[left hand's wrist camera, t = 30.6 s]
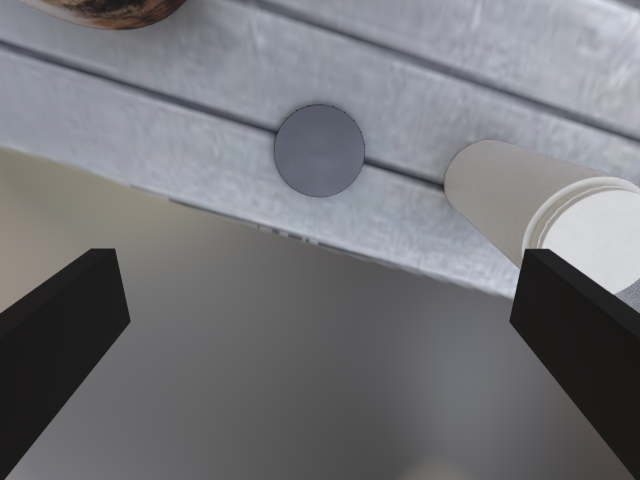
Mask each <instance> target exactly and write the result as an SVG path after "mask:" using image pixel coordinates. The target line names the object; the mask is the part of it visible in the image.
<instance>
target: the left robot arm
mask: <svg viewBox="0 0 640 480" xmlns="http://www.w3.org/2000/svg"><path fill="white" fill-rule="evenodd" d="M130 322H131V321H130V316H129V312H128V307H127V302H126V298H125V293H124V288H123V284H122V279H121V274H120V270H119V265H118V260H117V256H116V251H115V249H90V250H88V251H87V252H86V253H84V254H83V255H81V256H80V257H79V258H77V259H76V260H74V261H73V262H72V263H70V264H69V265H67V266H66V267H65V268H63V269H62V270H60V271H59V272H58V273H56V274H55V275H53V276H52V277H51V278H49V279H48V280H46V281H45V282H44V283H42V284H41V285H40V286H38V287H37V288H35V289H34V290H32V291H31V292H30V293H28V294H27V295H25V296H24V297H23V298H21V299H20V300H18V301H17V302H16V303H14V304H13V305H12V306H10V307H9V308H7V309H6V310H5V311H3V312H2V313H0V480H4V479H5V478H6V477H7V476H8V475H9V473H10V472H11V471H12V469H13V468H14V467H15V466H16V465H17V463H18V462H19V461H20V460H21V458H22V457H23V456H24V455H25V453H26V452H27V451H28V450H29V448H30V447H31V446H32V444H33V443H34V442H35V441H36V440H37V438H38V437H39V436H40V434H41V433H42V432H43V431H44V430H45V428H46V427H47V426H48V424H49V423H50V422H51V421H52V420H53V418H54V417H55V416H56V415H57V413H58V412H59V411H60V410H61V408H62V407H63V406H64V405H65V403H66V402H67V401H68V399H69V398H70V397H71V396H72V394H73V393H74V392H75V391H76V389H77V388H78V387H79V386H80V384H81V383H82V382H83V381H84V380H85V378H86V377H87V376H88V374H89V373H90V372H91V371H92V370H93V368H94V367H95V366H96V365H97V363H98V362H99V361H100V359H101V358H102V357H103V356H104V354H105V353H106V352H107V351H108V349H109V348H110V347H111V346H112V344H113V343H114V342H115V341H116V339H117V338H118V337H119V336H120V334H121V333H122V332H123V331H124V329H125V328H126V327H127V326H128V324H129V323H130ZM510 323H511V324H512V326H513V327H514V328H515V329H516V331H517V332H518V333H519V334H520V336H521V337H522V338H523V339H524V341H525V342H526V343H527V344H528V346H529V347H530V348H531V349H532V351H533V352H534V353H535V355H536V356H537V357H538V358H539V360H540V361H541V362H542V363H543V365H544V366H545V367H546V368H547V369H548V371H549V372H550V373H551V374H552V376H553V377H554V378H555V380H556V381H557V382H558V383H559V385H560V386H561V387H562V388H563V390H564V391H565V392H566V393H567V394H568V396H569V397H570V398H571V400H572V401H573V402H574V403H575V405H576V406H577V407H578V408H579V410H580V411H581V412H582V413H583V415H584V416H585V417H586V418H587V420H588V421H589V422H590V423H591V425H592V426H593V427H594V428H595V430H596V431H597V432H598V433H599V434H600V436H601V437H602V438H603V440H604V441H605V442H606V443H607V445H608V446H609V447H610V448H611V450H612V451H613V452H614V453H615V455H616V456H617V457H618V458H619V459H620V461H621V462H622V463H623V465H624V466H625V467H626V468H627V470H628V471H629V472H630V473H631V475H632V476H633V477H634V478H635V480H640V313H638V312H637V311H636V310H634V309H633V308H631V307H630V306H629V305H627V304H626V303H624V302H623V301H622V300H620V299H619V298H617V297H616V296H615V295H613V294H612V293H610V292H609V291H608V290H606V289H605V288H603V287H602V286H601V285H599V284H598V283H596V282H595V281H594V280H592V279H591V278H589V277H588V276H587V275H585V274H584V273H582V272H581V271H580V270H578V269H577V268H575V267H574V266H573V265H571V264H570V263H568V262H567V261H566V260H564V259H563V258H561V257H560V256H559V255H557V254H556V253H554V252H553V251H552V250H550V249H525V251H524V256H523V260H522V265H521V270H520V274H519V279H518V284H517V288H516V293H515V298H514V302H513V307H512V312H511V316H510Z"/></svg>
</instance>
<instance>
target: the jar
mask: <svg viewBox="0 0 640 480" xmlns="http://www.w3.org/2000/svg"><path fill="white" fill-rule="evenodd" d="M444 190H445V195H446V197H447V200H448V201H449V203H450V205H451V206H452V207H453V208H454V209H455V210H456V211H457V212H458V213H459V214H460V215H462V216H463V217H464V218H465V219H466V220H467V221H468V222H469V223H470V224H471V225H472V226H474V227H475V228H476V229H477V230H478V231H479V232H480V233H481V234H482V235H483V236H484V237H485V238H487V239H488V240H489V241H490V242H491V243H492V244H493V245H494V246H495V247H496V248H497V249H498V250H500V251H501V252H502V253H503V254H504V255H505V256H506V257H507V258H508V259H509V260H510V261H511V262H513V263H514V264H515V265H516V266H517V267H518V268H519V269H520V270H521V265H522V260H523V256H524V251H525V249H550V250H552V251H553V252H554V253H556V254H557V255H559V256H560V257H561V258H563V259H564V260H566V261H567V262H568V263H570V264H571V265H573V266H574V267H575V268H577V269H578V270H580V271H581V272H582V273H584V274H585V275H587V276H588V277H589V278H591V279H592V280H594V281H595V282H596V283H598V284H599V285H601V286H602V287H603V288H605V289H606V290H608V291H609V292H610V293H612V294H616V293H618V292H620V291H622V290H624V289H626V288H627V287H629V286H630V285H632V284H633V283H634V282H636V281H637V280H638V279H639V278H640V188H639V187H638V186H636V185H635V184H633V183H631V182H629V181H627V180H624V179H622V178H618V177H615V176H612V175H609V174H605V173H602V172H599V171H596V170H593V169H589V168H586V167H583V166H580V165H576V164H573V163H570V162H567V161H564V160H560V159H557V158H554V157H551V156H547V155H544V154H541V153H538V152H534V151H531V150H528V149H525V148H522V147H518V146H515V145H512V144H509V143H505V142H502V141H498V140H482V141H478V142H475V143H473V144H470V145H468V146H467V147H465V148H464V149H463V150H461V151H460V152H459V153H458V154H457V155H456V156H455V157H454V158H453V160H452V161H451V163H450V165H449V166H448V169H447V171H446V174H445V179H444Z"/></svg>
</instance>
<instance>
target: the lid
mask: <svg viewBox="0 0 640 480" xmlns="http://www.w3.org/2000/svg"><path fill="white" fill-rule="evenodd" d="M361 133H362V132H361V131H360V130H359V128H358V126H357V125H356V123H355V121H354V120H352V119H351V118H350V117H349V116H348V115H347V114H346V112H345V111H344V112H343V111H341V110H340V109H338V108H335V107H334V106H333V107H332V106H329V105H322V104H319V105H310V106H309V105H308V106H306V107H304V108H301V109H299V110H296V112H294V113H293V114H292V115H291V116H290V117H288V118H286V121H285V122H284V123H283V124H282V126H281V128H279V131H278V134H277V136H276V140H275V145H274V157H275V162H276V167H277V169H278V171H279V173H280V175H281V176H282V178H283V179H284V180H285V182H286V183H287V184H288V185H289V186H291V187H292V188H293V189H295V190H296V191H298V192H300V193H302V194H304V195H307V196H312V197H327V196H331V195H335V194H337V193H339V192H341V191H343V190H344V189H346V188H347V187H348V186H350V185H351V184H352V183H353V182H354V180H355V179H356V178H357V176H358V175H359V173H360V171H361V168H362V166H363V162H364V158H365V146H364V145H365V144H364V140H363V137H362V134H361Z"/></svg>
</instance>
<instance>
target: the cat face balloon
mask: <svg viewBox="0 0 640 480" xmlns="http://www.w3.org/2000/svg"><path fill="white" fill-rule="evenodd" d="M19 1H21V2H23V3H25V4H27V5H29V6H30V7H32V8H34V9H37V10H39V11H41V12H43V13H45V14H48V15H50V16H53V17H55V18H58V19H61V20H63V21H67V22H70V23H73V24H77V25H81V26H85V27H90V28H96V29H104V30H129V29H136V28H142V27H145V26H148V25H152V24H154V23H156V22H159V21H161V20H163V19H165V18H166V17H168V16H169V15H171V14H172V13H174V12H175V11H176V10H177V9H178V8H179V7H180V6H181V5H182V4H183V3H184V2H185V1H186V0H19Z"/></svg>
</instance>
